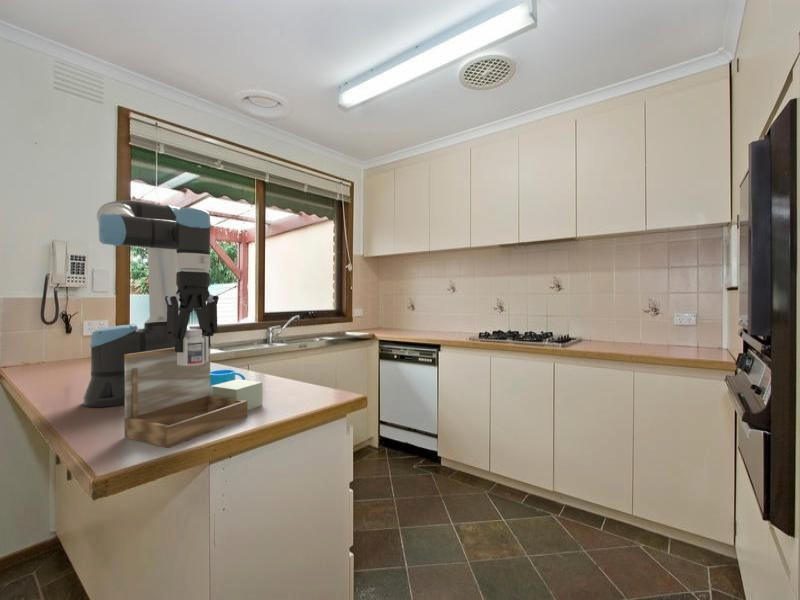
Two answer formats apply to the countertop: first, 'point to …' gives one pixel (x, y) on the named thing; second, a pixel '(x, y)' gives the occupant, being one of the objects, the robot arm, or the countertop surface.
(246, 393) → the step
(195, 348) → the pill bottle
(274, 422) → the countertop surface
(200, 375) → the wooden tray with backboard
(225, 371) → the mug
